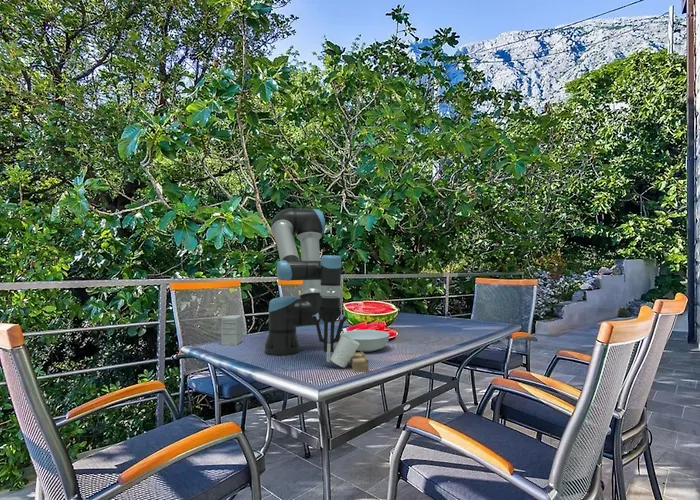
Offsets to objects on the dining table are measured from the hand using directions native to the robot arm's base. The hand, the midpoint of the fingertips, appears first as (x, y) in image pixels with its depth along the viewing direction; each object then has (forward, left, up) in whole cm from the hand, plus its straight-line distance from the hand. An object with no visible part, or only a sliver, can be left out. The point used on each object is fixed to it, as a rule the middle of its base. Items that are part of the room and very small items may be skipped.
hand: (328, 360), depth 158 cm
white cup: (0, +3, -1) cm, 4 cm away
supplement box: (-46, -42, -3) cm, 62 cm away
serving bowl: (-28, +18, -3) cm, 33 cm away
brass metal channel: (0, +11, -2) cm, 12 cm away
